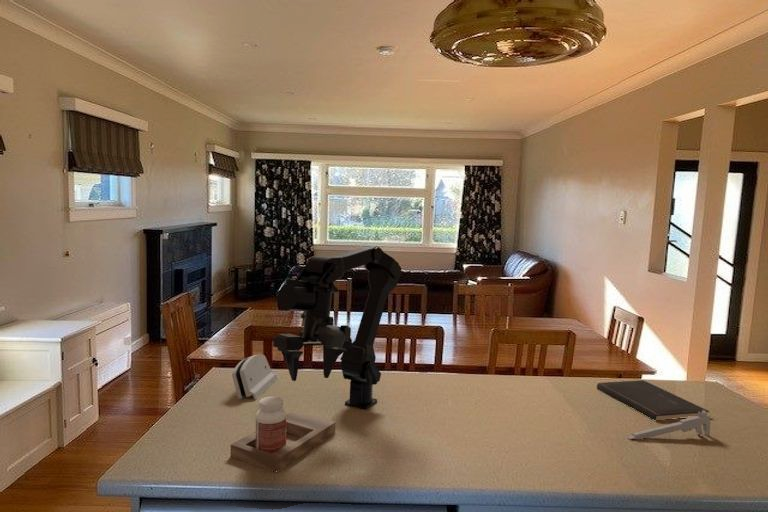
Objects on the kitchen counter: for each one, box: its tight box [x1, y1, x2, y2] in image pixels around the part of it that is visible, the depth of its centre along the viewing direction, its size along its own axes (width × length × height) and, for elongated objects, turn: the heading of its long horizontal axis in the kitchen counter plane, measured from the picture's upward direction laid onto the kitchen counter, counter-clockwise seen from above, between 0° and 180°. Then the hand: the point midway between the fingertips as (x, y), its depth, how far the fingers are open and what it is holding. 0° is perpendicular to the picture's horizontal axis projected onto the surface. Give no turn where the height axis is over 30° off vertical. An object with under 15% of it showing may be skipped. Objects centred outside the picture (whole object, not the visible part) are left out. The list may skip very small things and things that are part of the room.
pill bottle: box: [255, 396, 287, 454], centre depth 101 cm, size 6×6×11 cm
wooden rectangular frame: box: [230, 410, 336, 473], centre depth 106 cm, size 20×12×2 cm, turn 151°
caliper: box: [627, 410, 711, 440], centre depth 114 cm, size 20×1×6 cm, turn 99°
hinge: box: [231, 354, 279, 401], centre depth 138 cm, size 17×5×10 cm, turn 172°
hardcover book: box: [596, 379, 710, 421], centre depth 136 cm, size 16×23×2 cm
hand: (310, 379), depth 112 cm, fingers open, 9 cm apart
